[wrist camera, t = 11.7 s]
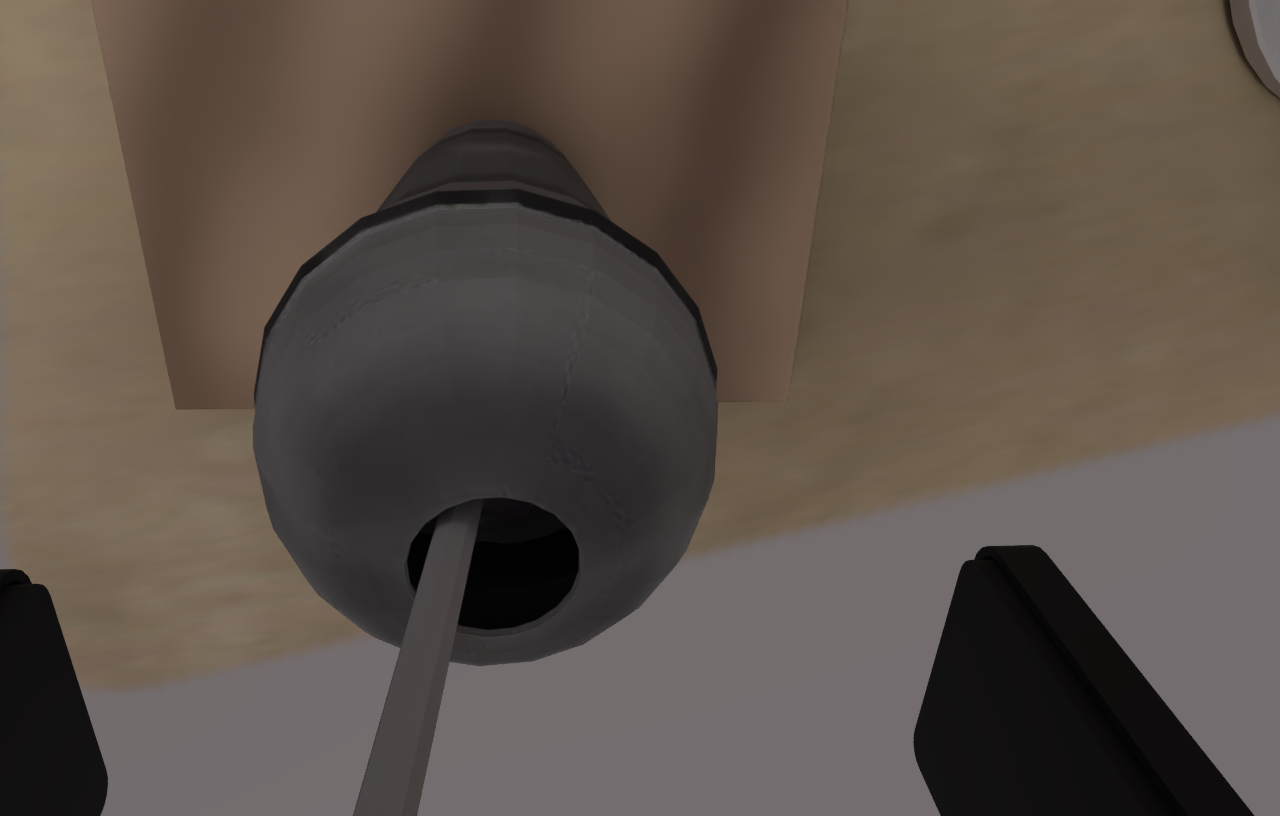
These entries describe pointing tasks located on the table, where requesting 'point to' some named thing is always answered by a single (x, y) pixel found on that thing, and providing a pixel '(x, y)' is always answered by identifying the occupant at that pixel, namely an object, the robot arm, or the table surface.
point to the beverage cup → (482, 425)
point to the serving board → (449, 98)
